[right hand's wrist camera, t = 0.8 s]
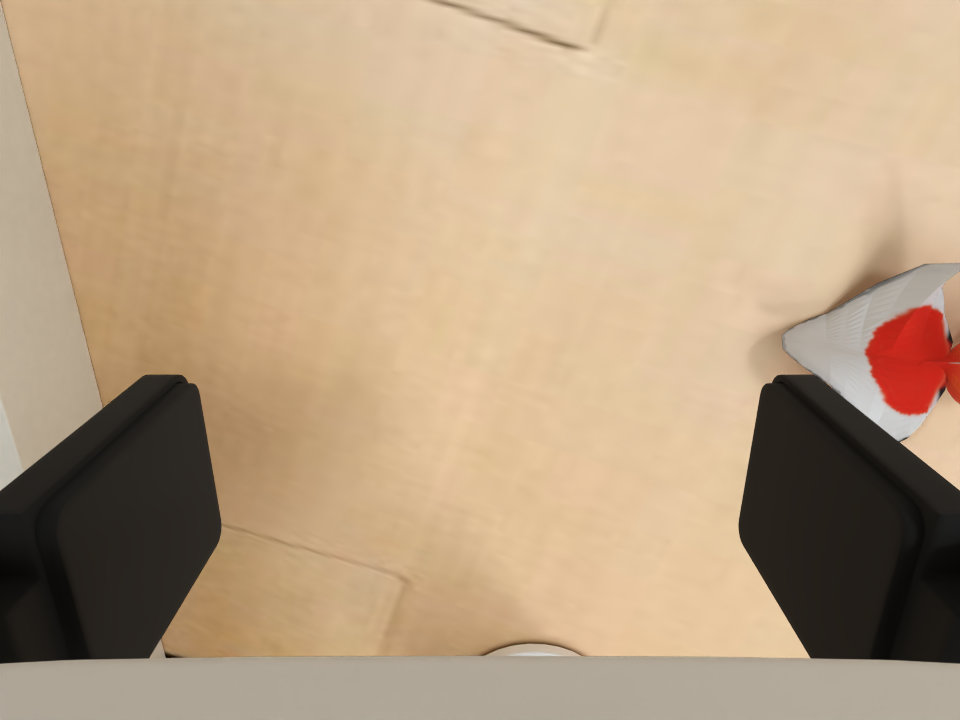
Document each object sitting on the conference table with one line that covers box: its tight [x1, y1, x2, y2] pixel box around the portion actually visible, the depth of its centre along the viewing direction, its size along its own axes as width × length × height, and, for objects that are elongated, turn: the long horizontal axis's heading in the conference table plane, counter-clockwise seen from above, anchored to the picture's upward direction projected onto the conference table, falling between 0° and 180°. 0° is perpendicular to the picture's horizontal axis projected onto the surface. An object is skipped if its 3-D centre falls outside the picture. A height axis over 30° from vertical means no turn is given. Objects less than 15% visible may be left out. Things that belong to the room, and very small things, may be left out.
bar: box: [0, 1, 166, 659], centre depth 38 cm, size 81×4×8 cm, turn 1°
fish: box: [782, 263, 960, 442], centre depth 37 cm, size 11×16×10 cm
